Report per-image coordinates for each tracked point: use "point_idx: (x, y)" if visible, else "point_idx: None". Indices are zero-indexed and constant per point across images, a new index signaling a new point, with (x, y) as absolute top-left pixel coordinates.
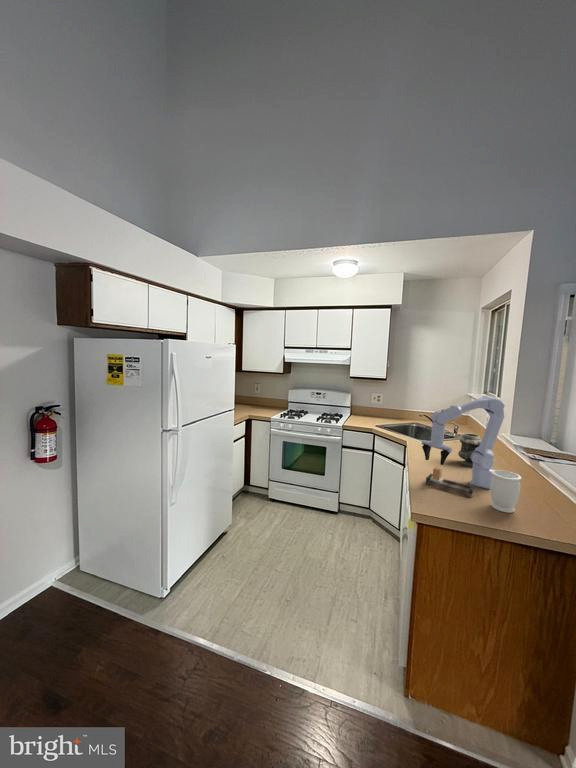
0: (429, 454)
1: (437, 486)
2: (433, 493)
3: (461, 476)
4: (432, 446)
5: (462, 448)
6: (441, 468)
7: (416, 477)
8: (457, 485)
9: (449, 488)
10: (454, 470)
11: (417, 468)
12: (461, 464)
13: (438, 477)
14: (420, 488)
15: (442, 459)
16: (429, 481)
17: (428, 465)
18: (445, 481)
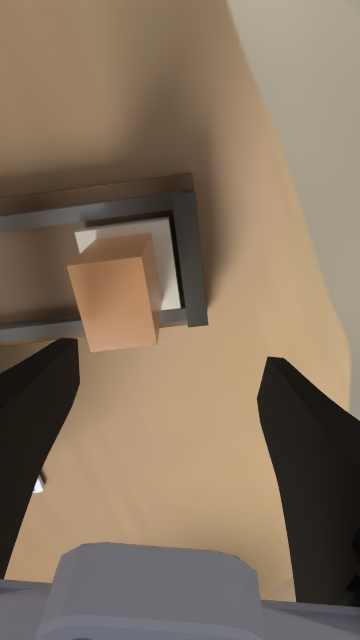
0: (273, 461)
1: (92, 187)
2: (61, 39)
3: (104, 489)
4: (148, 553)
5: None
6: (90, 340)
7: (300, 276)
8: (6, 315)
9: (2, 208)
10: (168, 532)
11: None
12: None
13: (96, 244)
14: (188, 55)
15: (6, 372)
16: (163, 194)
17: None
18: None
